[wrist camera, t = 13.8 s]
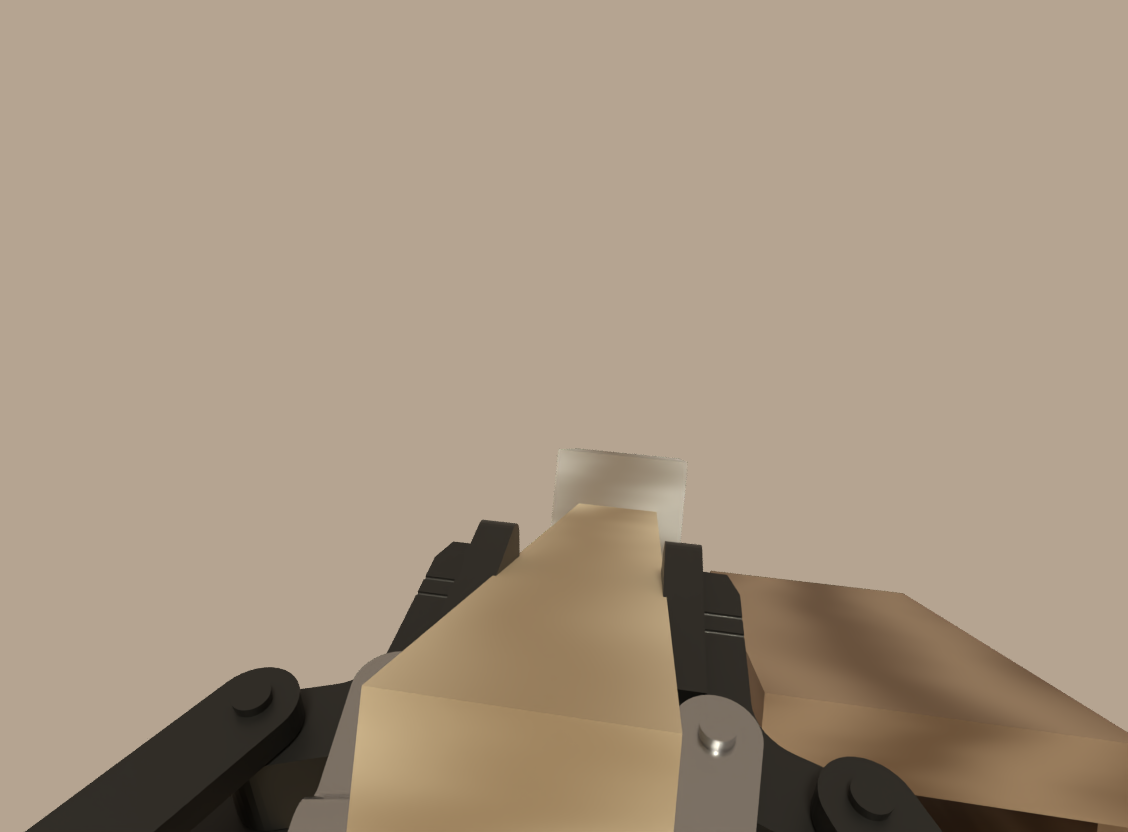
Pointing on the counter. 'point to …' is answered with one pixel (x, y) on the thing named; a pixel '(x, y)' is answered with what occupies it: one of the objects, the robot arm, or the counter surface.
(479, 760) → the meat mallet
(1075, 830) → the stepped shelf
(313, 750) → the robot arm
